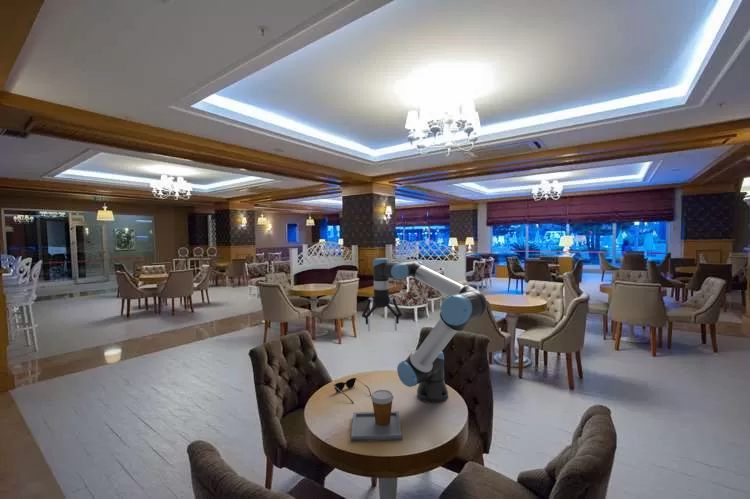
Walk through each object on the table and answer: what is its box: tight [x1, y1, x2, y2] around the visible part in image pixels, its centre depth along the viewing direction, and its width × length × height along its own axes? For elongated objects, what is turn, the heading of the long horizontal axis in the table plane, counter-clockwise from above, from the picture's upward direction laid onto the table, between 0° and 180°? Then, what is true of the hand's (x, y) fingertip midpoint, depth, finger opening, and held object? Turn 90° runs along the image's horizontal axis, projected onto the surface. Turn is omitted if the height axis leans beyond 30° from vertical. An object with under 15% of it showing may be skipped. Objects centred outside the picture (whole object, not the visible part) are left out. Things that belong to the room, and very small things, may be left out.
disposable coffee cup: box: [370, 389, 394, 426], centre depth 150 cm, size 10×10×12 cm
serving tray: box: [350, 410, 403, 442], centre depth 147 cm, size 20×18×2 cm
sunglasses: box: [333, 377, 372, 404], centre depth 178 cm, size 14×16×5 cm
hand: (382, 330), depth 179 cm, fingers open, 13 cm apart
